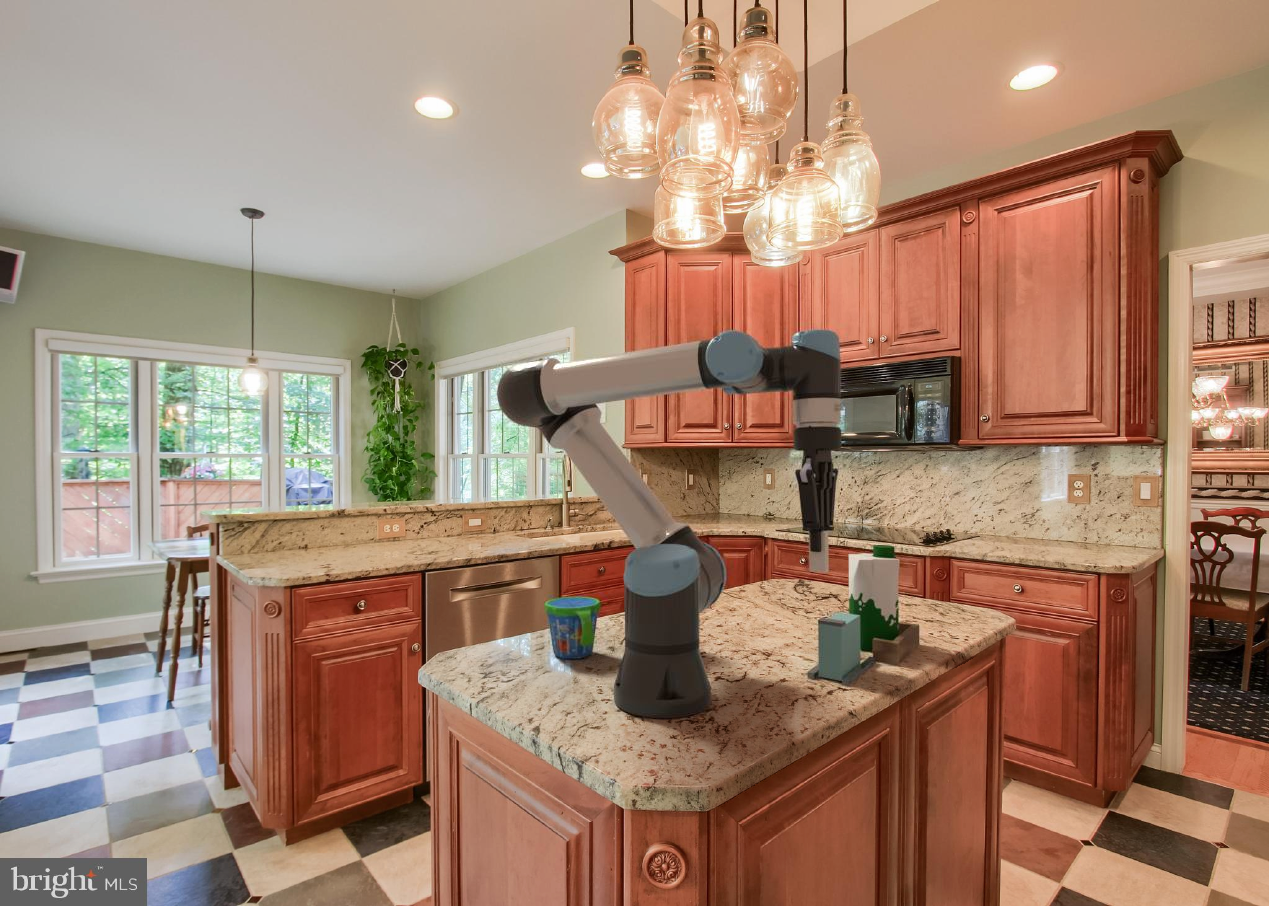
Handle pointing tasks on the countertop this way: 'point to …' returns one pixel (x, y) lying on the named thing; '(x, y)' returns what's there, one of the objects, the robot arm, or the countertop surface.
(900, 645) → the cradle
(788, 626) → the countertop surface
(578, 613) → the snack cup
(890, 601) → the soya milk
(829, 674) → the slider block
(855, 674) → the rails
